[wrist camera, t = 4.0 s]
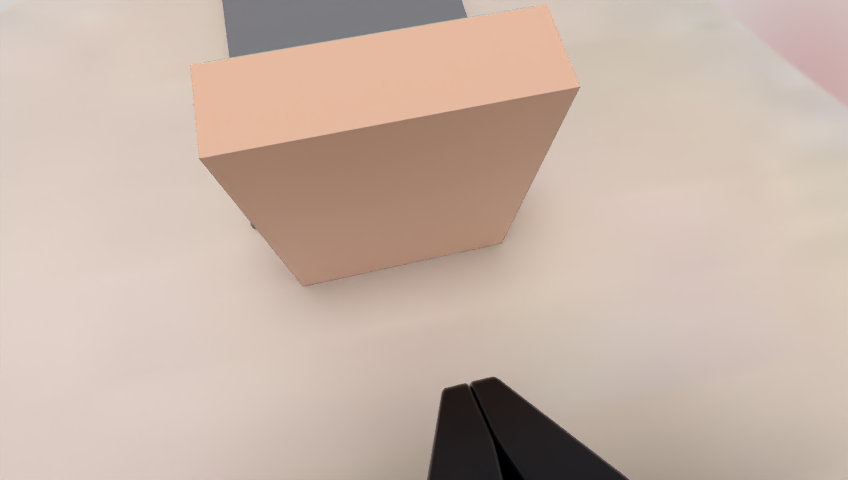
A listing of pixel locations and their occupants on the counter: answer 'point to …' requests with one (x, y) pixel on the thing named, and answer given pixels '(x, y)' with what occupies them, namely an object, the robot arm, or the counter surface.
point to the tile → (386, 138)
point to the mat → (324, 20)
